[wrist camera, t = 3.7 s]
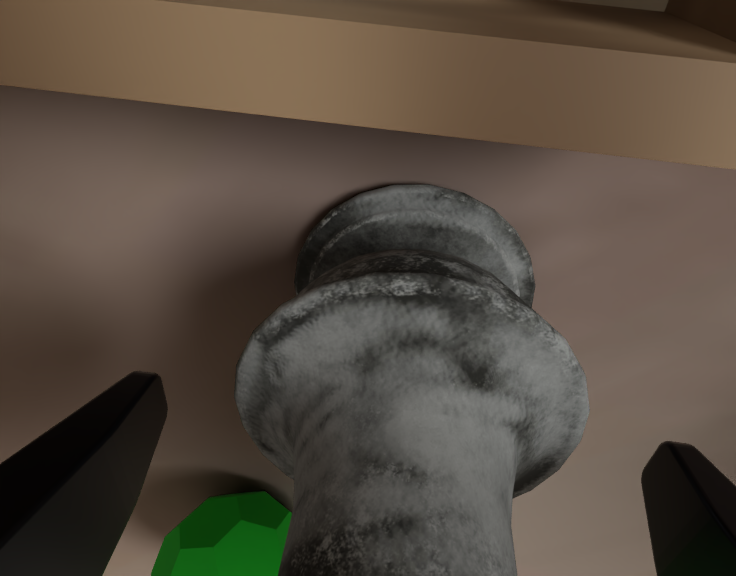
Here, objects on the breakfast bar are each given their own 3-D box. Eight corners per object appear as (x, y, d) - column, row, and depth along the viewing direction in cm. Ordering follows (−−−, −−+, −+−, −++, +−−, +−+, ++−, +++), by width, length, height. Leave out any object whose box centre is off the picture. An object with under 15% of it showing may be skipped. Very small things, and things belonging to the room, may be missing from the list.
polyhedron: (176, 452, 16) (99, 616, 13) (327, 467, 16) (296, 640, 12) (200, 533, 19) (145, 686, 16) (329, 548, 19) (304, 707, 15)
